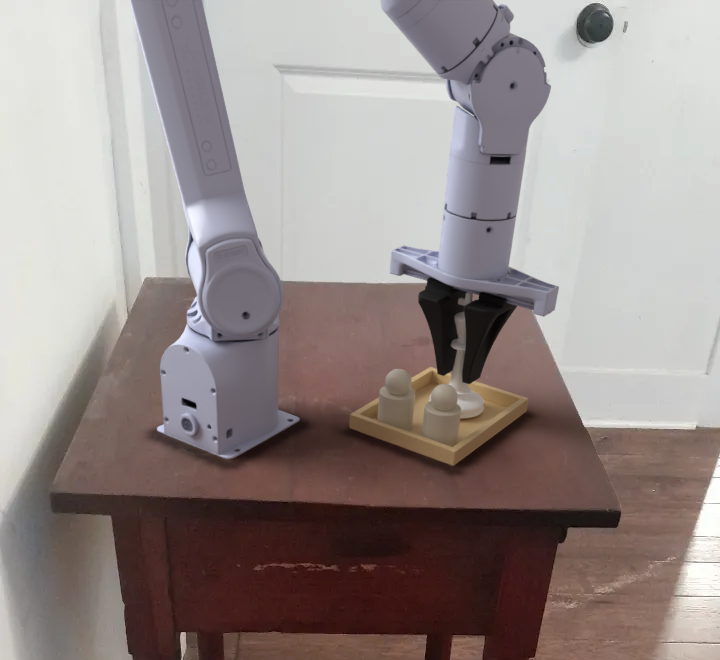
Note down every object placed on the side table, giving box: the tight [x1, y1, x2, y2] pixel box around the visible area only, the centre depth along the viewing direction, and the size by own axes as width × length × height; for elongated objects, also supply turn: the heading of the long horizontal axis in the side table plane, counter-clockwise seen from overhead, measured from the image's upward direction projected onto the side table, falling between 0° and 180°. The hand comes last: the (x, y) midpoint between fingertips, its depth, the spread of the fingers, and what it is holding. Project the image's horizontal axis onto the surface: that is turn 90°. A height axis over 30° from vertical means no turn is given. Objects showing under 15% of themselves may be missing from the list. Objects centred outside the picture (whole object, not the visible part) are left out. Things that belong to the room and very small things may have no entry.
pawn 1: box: [377, 368, 415, 432], centre depth 82 cm, size 3×3×5 cm
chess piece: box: [429, 292, 484, 418], centre depth 84 cm, size 5×5×10 cm
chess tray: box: [348, 366, 530, 466], centre depth 85 cm, size 13×10×2 cm
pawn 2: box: [421, 384, 461, 447], centre depth 80 cm, size 3×3×5 cm
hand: (458, 375), depth 85 cm, fingers closed on chess piece
